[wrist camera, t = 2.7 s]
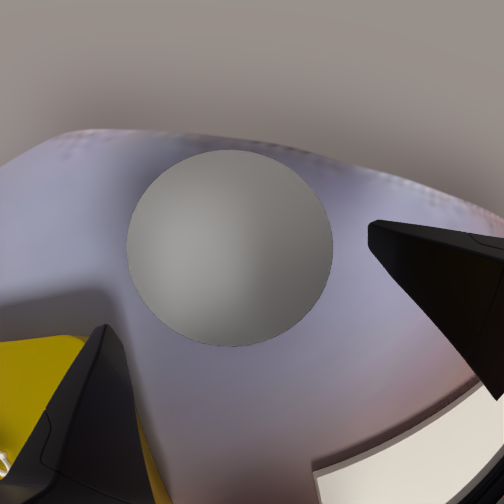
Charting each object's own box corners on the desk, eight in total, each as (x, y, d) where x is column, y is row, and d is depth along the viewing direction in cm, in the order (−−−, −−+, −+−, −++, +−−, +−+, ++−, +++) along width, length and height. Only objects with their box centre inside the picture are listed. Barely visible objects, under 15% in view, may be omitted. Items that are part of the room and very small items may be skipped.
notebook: (494, 471, 14) (499, 473, 13) (333, 570, 11) (336, 576, 10) (497, 366, 17) (504, 366, 16) (312, 472, 14) (316, 478, 13)
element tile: (183, 521, 13) (175, 558, 8) (32, 503, 10) (6, 522, 6) (119, 332, 16) (87, 329, 12) (-20, 348, 14) (-57, 345, 10)
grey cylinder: (278, 338, 17) (342, 337, 7) (179, 341, 16) (123, 345, 7) (271, 244, 19) (317, 152, 9) (179, 246, 18) (138, 153, 9)
